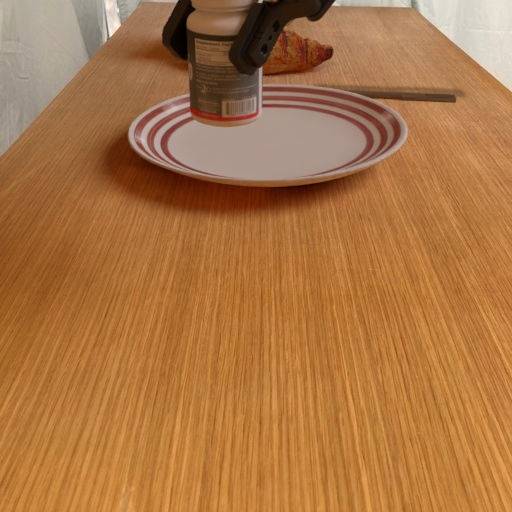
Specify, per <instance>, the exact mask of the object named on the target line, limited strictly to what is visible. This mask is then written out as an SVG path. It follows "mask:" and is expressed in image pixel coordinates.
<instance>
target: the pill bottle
mask: <svg viewBox="0 0 512 512" xmlns="http://www.w3.org/2000/svg"><path fill="white" fill-rule="evenodd" d="M259 1H260V0H191V2H192V6H193V7H194V8H196V10H195V11H194V12H192V13H191V14H190V15H189V16H188V18H187V49H188V60H187V68H188V69H187V70H188V91H189V92H188V94H189V93H190V112H191V116H192V117H193V119H195V120H196V121H198V122H200V123H202V124H206V125H211V126H216V127H236V126H242V125H246V124H250V123H252V122H254V121H256V120H257V119H259V118H260V116H261V115H262V107H263V100H262V97H263V84H264V83H263V81H264V74H263V66H262V67H261V68H257V70H256V72H255V74H254V75H252V76H249V75H245V74H241V73H240V72H239V71H238V70H237V69H236V68H235V66H234V65H233V64H232V63H231V61H230V60H229V50H230V48H231V46H232V44H233V42H234V40H235V38H236V36H237V34H238V33H239V31H240V29H241V27H242V25H243V23H244V21H245V19H246V17H247V15H248V13H249V11H250V9H251V8H252V6H253V4H254V2H258V3H259Z"/></svg>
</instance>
